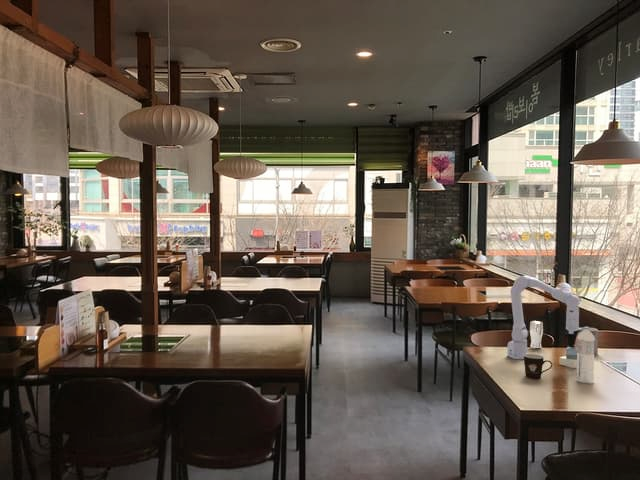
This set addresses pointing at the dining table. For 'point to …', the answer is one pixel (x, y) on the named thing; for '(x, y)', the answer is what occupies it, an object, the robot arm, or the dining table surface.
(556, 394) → the dining table surface
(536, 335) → the beer glass
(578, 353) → the water bottle
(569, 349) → the blue cube
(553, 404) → the dining table surface
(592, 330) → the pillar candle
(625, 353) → the dining table surface
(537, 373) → the coffee mug
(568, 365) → the cream block
